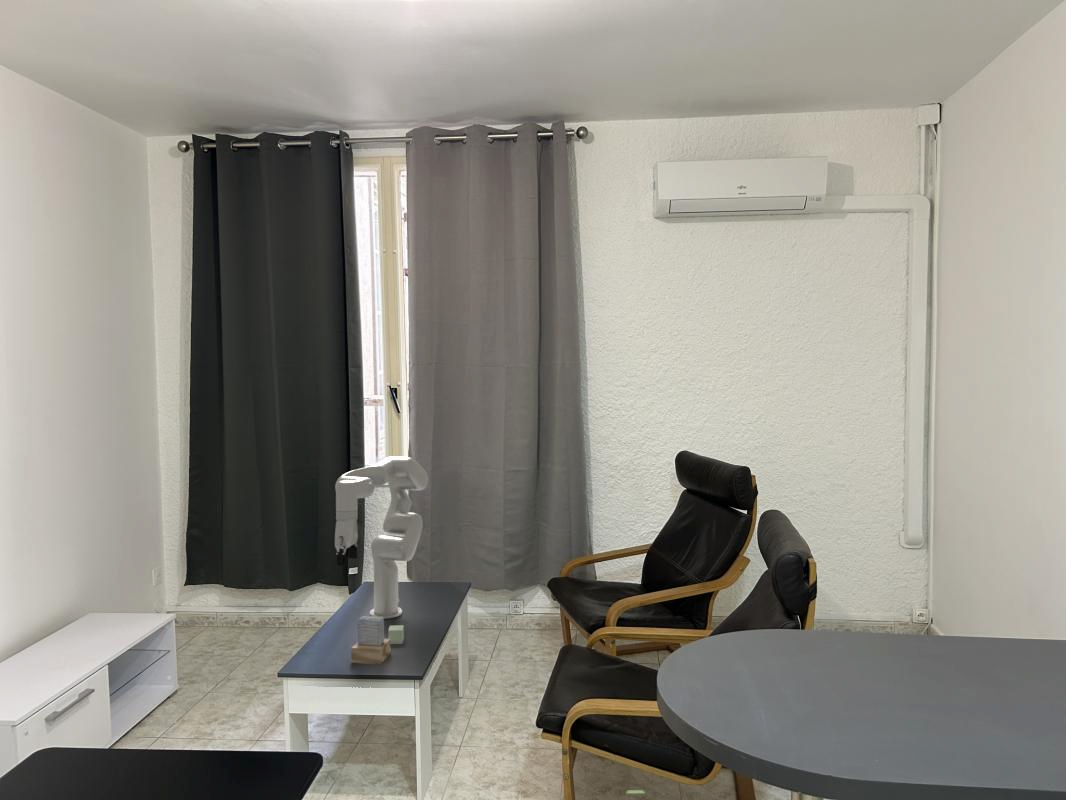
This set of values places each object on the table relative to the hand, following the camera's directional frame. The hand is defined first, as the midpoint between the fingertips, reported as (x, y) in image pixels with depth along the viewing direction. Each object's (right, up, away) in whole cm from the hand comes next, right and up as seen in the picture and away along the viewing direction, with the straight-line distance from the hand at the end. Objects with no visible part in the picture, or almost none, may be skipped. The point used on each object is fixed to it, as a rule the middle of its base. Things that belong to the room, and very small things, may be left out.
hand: (347, 561), depth 270 cm
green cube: (+18, -29, -1) cm, 34 cm away
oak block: (+12, -29, -16) cm, 35 cm away
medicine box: (+12, -24, -16) cm, 32 cm away
